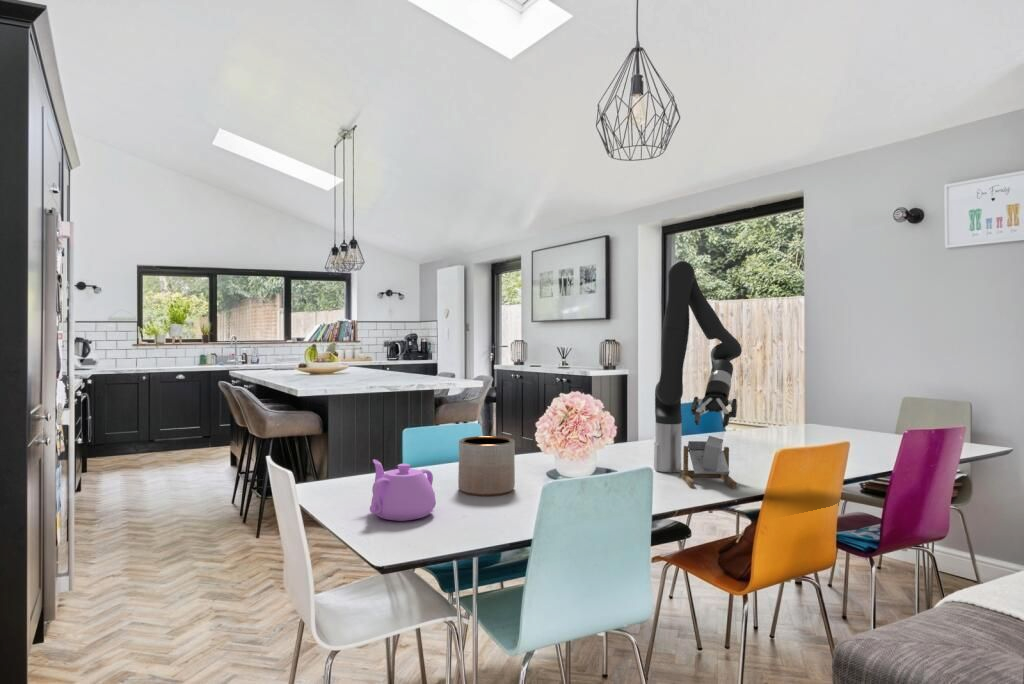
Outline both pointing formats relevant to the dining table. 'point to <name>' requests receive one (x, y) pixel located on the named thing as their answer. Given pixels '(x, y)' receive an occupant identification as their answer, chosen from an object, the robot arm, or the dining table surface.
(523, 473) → the dining table surface
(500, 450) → the planter
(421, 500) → the teapot
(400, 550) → the dining table surface
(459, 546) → the dining table surface
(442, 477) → the dining table surface
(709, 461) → the basalt block
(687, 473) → the brown wooden frame
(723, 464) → the trapdoor plate
